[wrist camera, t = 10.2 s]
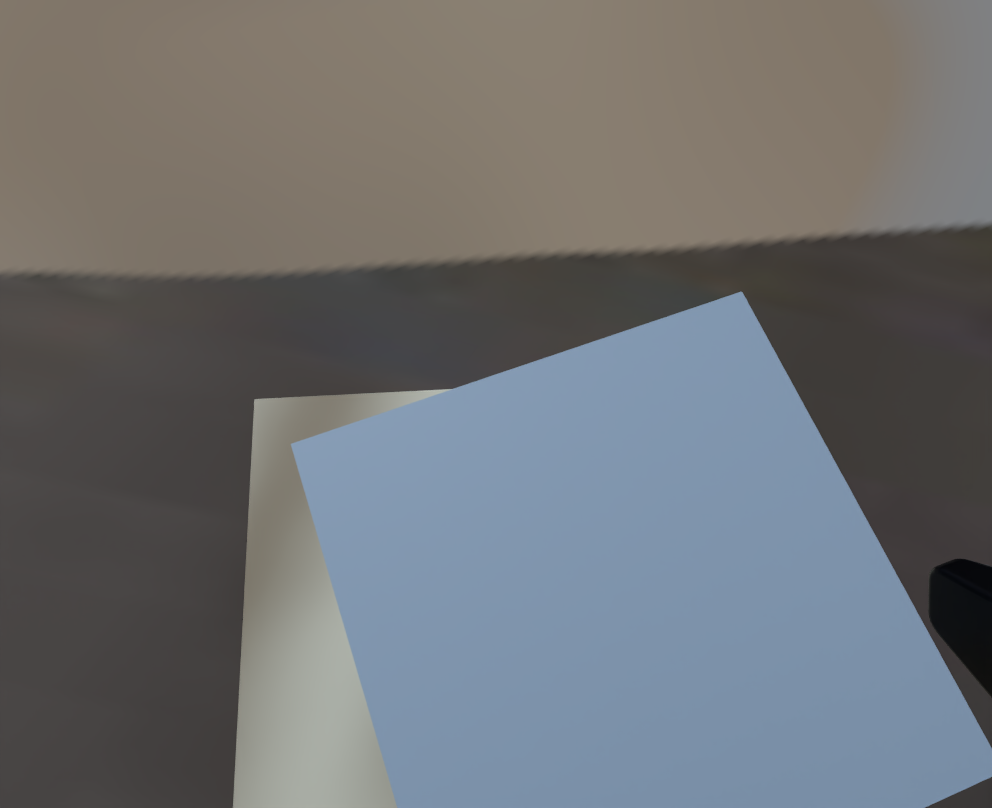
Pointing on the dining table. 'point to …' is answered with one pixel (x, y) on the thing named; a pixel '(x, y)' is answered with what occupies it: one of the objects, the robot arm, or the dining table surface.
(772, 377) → the carton
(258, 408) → the board
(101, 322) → the dining table surface
